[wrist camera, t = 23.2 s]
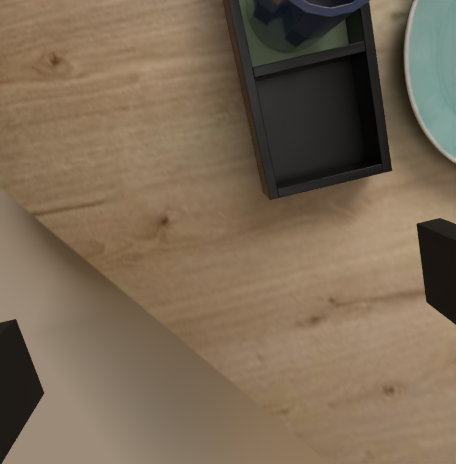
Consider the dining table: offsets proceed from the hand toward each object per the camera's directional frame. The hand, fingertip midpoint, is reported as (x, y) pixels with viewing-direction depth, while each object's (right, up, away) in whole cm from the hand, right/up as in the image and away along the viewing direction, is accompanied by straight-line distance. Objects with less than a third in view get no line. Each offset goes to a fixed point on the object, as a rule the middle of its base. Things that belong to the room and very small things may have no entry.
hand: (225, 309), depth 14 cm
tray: (+6, +17, +24) cm, 30 cm away
